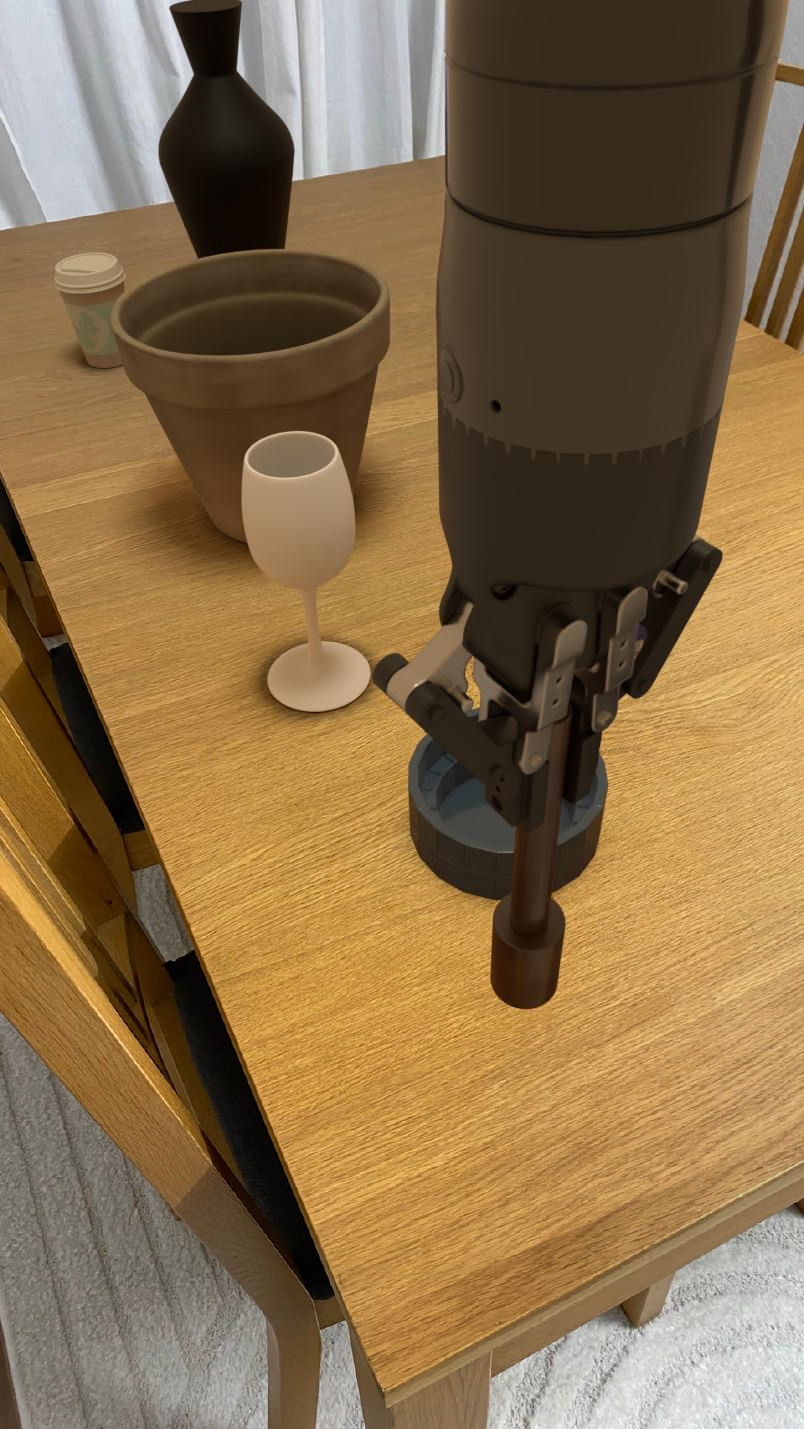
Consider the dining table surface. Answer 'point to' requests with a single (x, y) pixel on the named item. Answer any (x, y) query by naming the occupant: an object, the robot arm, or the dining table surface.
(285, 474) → the wineglass
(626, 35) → the robot arm
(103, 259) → the coffee cup
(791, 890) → the dining table surface
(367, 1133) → the dining table surface
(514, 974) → the muddler
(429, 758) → the bowl
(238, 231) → the vase
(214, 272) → the flower pot
